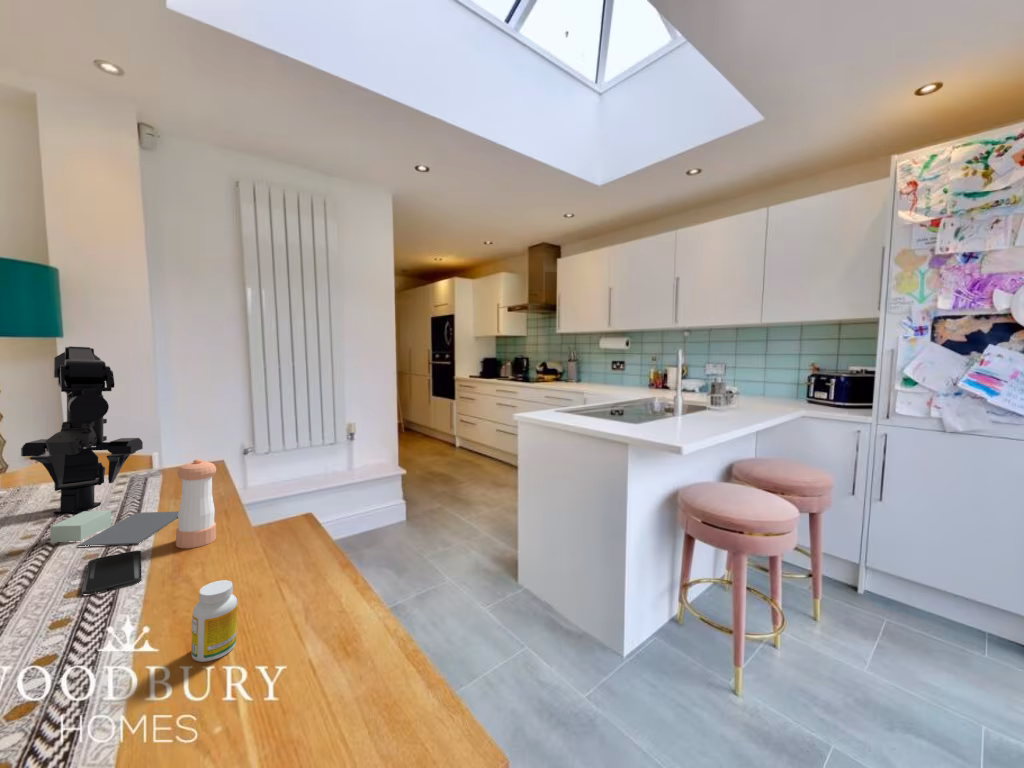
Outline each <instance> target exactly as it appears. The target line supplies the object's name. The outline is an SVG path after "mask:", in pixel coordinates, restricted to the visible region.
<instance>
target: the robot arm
mask: <svg viewBox="0 0 1024 768" xmlns="http://www.w3.org/2000/svg"><path fill="white" fill-rule="evenodd" d="M53 358H54V360H53V378H54V379H57V385H58V387H59V388H60V392H62V393H65V394H66V421H62V423H61V429H60V431H58V432H56V433H54V434H53V435H52V436H50V437H49V438H46V439H45V438H41V439H37V440H31V441H28V442H25V443H24V444H23V445H22V447H21V448H20V457H29V460H31V461H36V462H39V463H40V464H42V465H43V466H44V468H45V469H46V470H47V473H48V474H49V475H50V476H49V477H51V479H52V481H53V486H54V491H55V492H57V491H60V499H59V500H60V503H59V506H60V508H58V509H55V510H53V514H65V513H66V514H70V513H73V514H75V513H77V514H79V513H81V512H84V511H91V510H92V509H94V508H96V507H98V506H100V505H102V501H101V502H99V501H97V502H96V501H95V486H101V485H102V484H104V483H105V476H106V475H105V474H106V467H105V466H104V465H103V464H102V462H99V456H98V455H97V453H96V452H94V451H107V452H108V453H110V454H108V455H106V459H107V460H108V474H107V475H108V476H107V481H108V484H113V483H114V482H115V480H116V479H117V476H118V474H119V472H120V471H121V469H122V467H123V465H124V464H125V462H126V461H127V459H128V458H129V457H130V456H131V455H133V454H136V452H138V451H140V450H143V449H144V448H143V447H144V446H143V443H144V442H143V441H142V439H141V438H140V437H121V438H117V439H113V440H109V441H108V439H107V436H106V435H104V424H107V423H108V420H107V418H104V416H106V414H107V413H108V411H109V409H110V406H109V403H108V401H107V399H105V398H104V395H103V392H112V389H113V388H115V378H114V377H115V376H114V371H113V370H112V369H111V367H110V365H107V364H106V362H105V361H104V360H101V358H100V357H98V356H97V355H96V354H95V348H91V347H88V346H65V348H64V352H62V353H60V354H59V355H57V356H55V357H53Z"/></svg>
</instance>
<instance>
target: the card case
mask: <svg viewBox="0 0 1024 768" xmlns="http://www.w3.org/2000/svg"><path fill="white" fill-rule="evenodd" d="M109 526H110V527H111V526H112V510H87V511H84V512H78V513H77V514H75V515H72V516H70V517H69V518H66V519H64V520H62V521H59V522H57V523H55V524H53V525H51V526H50V530H49V531H50V533H49V534H50V536H49V537H50V544H58V543H57V542H69V541H81V540H83V539H85V538H86V537H88V536H90V535H92V534H94V533H96V532H98V531H101V530H102V531H104V530H106V529H108V528H110V527H109ZM107 527H108V528H107ZM105 528H106V529H105ZM103 529H104V530H103ZM102 531H101V532H102Z"/></svg>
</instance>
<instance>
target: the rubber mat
mask: <svg viewBox="0 0 1024 768" xmlns="http://www.w3.org/2000/svg"><path fill="white" fill-rule="evenodd" d="M178 512H179V510H177V511H154V512H153V511H152V512H151V511H149V512H135V513H133V514H131V515H130V516H128V517H126V518H124V519H121V521H118V522H117V523H115V524H113V525H111V526H110V527H108V528H106V529H104V530H102V531H101V532H99V533H97V534H95V535H93V536H91V537H89V538H88V539H86V540H84V541H82V542H80V543H79V544H77V546H85V545H86V546H88V545H89V546H90V545H123V546H130V545H129V544H139V543H140V542H141V543H142V541H143V540H144V541H145V539H146V538H147V539H149V538H150V537H152V536H153V535H155V534H156V533H158V532H159V531H161V530H162V529H163V527H164V526H165V527H167V526H168V525H170V524H171V523H173V522H174V521H175V520H177V519H178V518H177V517H178ZM176 518H177V519H176ZM173 520H174V521H173ZM172 521H173V522H172ZM170 522H171V523H170ZM169 523H170V524H169ZM167 524H168V525H167ZM166 525H167V526H166ZM165 527H164V528H165ZM161 528H162V529H161ZM160 529H161V530H160ZM158 530H159V531H158ZM157 531H158V532H157ZM155 532H156V533H155ZM154 533H155V534H154ZM152 534H153V535H152ZM151 535H152V536H151ZM149 536H150V537H149ZM148 537H149V538H148ZM147 539H146V540H147ZM144 541H143V542H144ZM141 543H140V544H141ZM140 544H139V545H140Z"/></svg>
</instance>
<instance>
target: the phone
mask: <svg viewBox="0 0 1024 768" xmlns="http://www.w3.org/2000/svg"><path fill="white" fill-rule="evenodd" d="M85 573H86V574H85ZM85 573H84V574H85V576H84V580H83V584H82V587H81V594H82V593H83V594H91V593H98V592H103V591H107V590H111V591H114V590H118V589H124V588H126V587H127V588H128V587H131V586H135V585H137V583H138V584H139V582H140V581H141V582H142V581H143V580H142V575H143V574H142V551H141V550H133V551H128V552H122V553H116V554H111V555H107V556H102V557H96V558H92V559H91V560H89V561H87V565H86V569H85ZM141 582H140V583H141ZM107 592H108V591H107ZM103 593H104V592H103Z"/></svg>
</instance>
